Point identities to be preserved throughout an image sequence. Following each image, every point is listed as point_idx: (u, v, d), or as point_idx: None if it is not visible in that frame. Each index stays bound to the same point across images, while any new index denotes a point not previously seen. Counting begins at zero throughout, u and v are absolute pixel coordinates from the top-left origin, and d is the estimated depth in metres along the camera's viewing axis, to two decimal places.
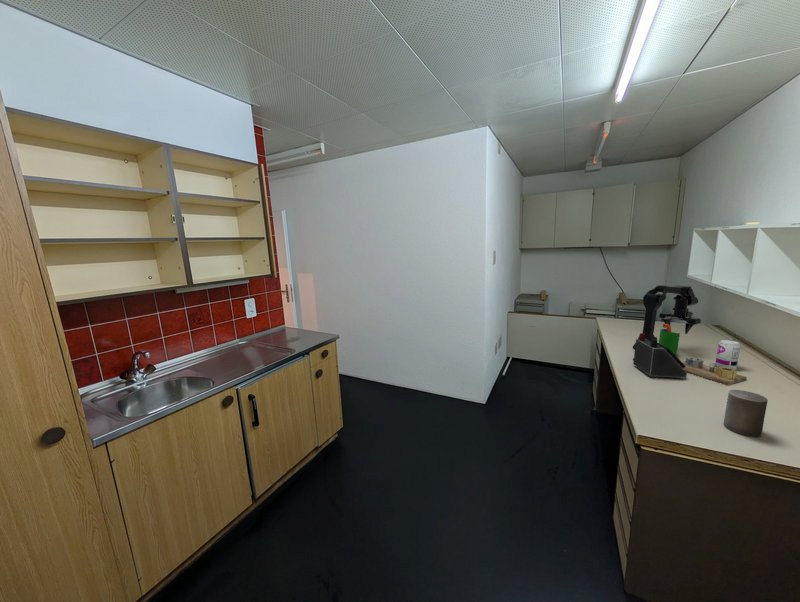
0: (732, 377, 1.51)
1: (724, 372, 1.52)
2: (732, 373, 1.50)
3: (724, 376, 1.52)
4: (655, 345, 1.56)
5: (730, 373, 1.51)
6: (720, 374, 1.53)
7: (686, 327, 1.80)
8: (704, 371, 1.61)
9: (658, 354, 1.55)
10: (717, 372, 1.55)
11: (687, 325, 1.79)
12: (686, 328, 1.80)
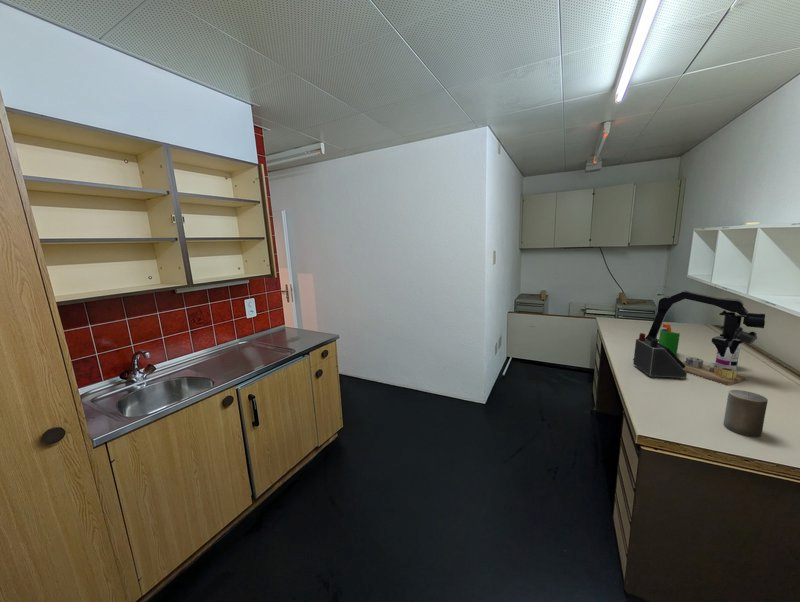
0: (732, 377, 1.51)
1: (724, 372, 1.52)
2: (732, 373, 1.50)
3: (724, 376, 1.52)
4: (655, 345, 1.56)
5: (730, 373, 1.51)
6: (720, 374, 1.53)
7: None
8: (704, 371, 1.61)
9: (658, 354, 1.55)
10: (717, 372, 1.55)
11: None
12: None
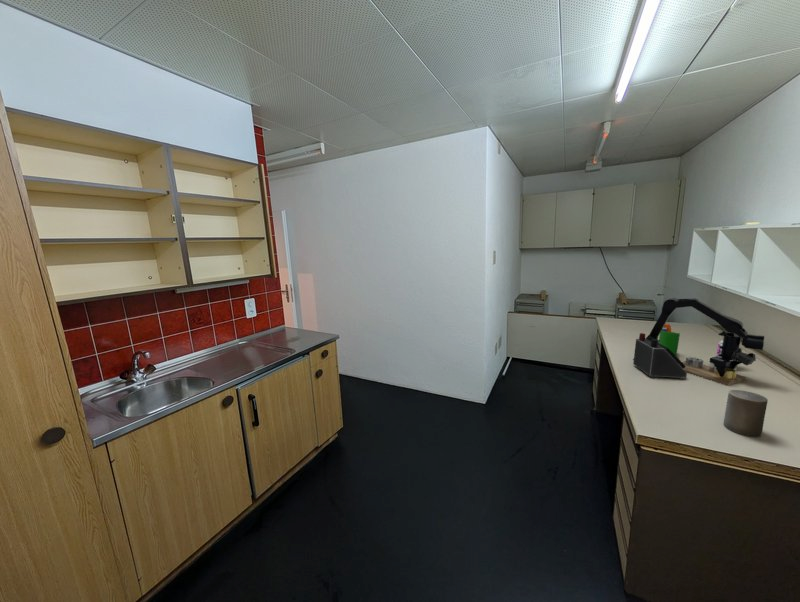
0: (732, 377, 1.51)
1: None
2: (732, 373, 1.50)
3: (724, 376, 1.52)
4: (655, 345, 1.56)
5: (730, 373, 1.51)
6: None
7: None
8: (704, 371, 1.61)
9: (658, 354, 1.55)
10: (717, 372, 1.55)
11: None
12: None
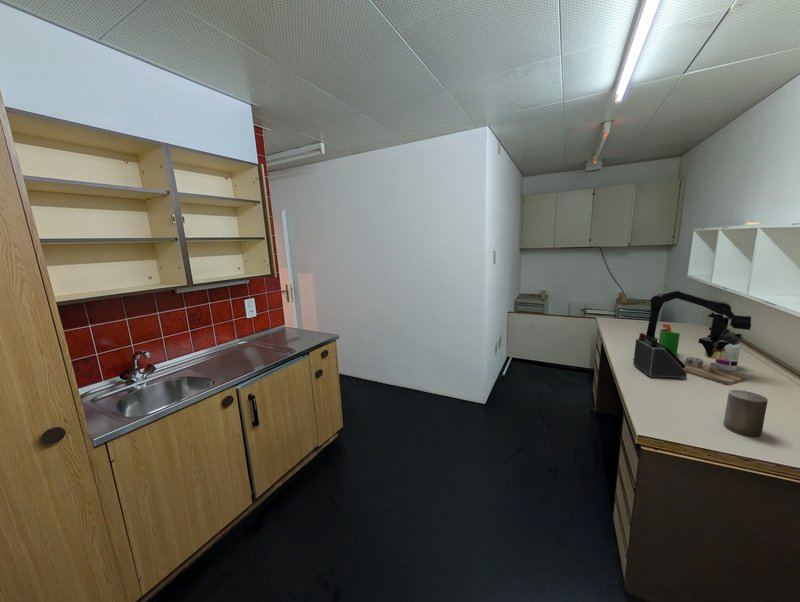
0: (720, 357, 1.56)
1: None
2: (720, 353, 1.55)
3: (712, 356, 1.57)
4: (655, 345, 1.56)
5: (718, 353, 1.56)
6: None
7: None
8: (704, 371, 1.61)
9: (658, 354, 1.55)
10: (706, 353, 1.60)
11: None
12: None
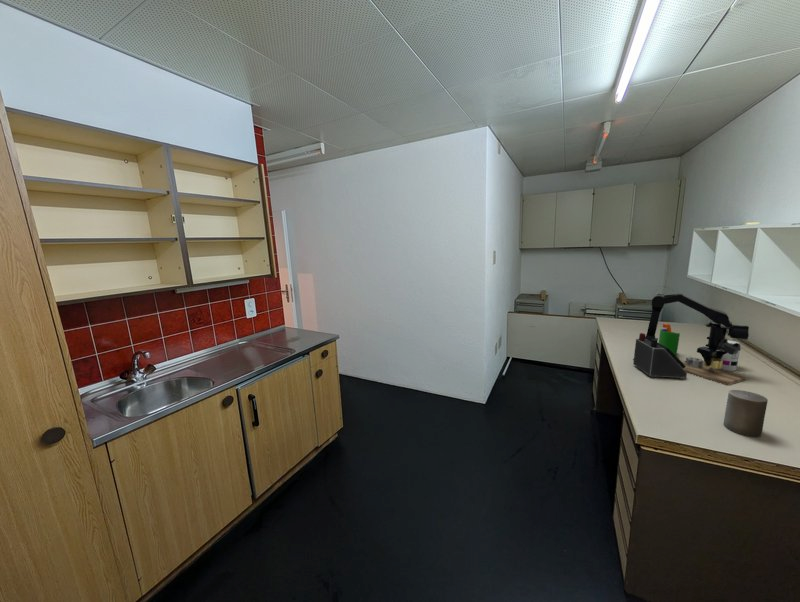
0: (718, 366, 1.57)
1: (711, 362, 1.58)
2: (718, 362, 1.56)
3: (711, 365, 1.58)
4: (655, 345, 1.56)
5: (716, 362, 1.57)
6: None
7: None
8: (704, 371, 1.61)
9: (658, 354, 1.55)
10: (704, 362, 1.61)
11: None
12: None
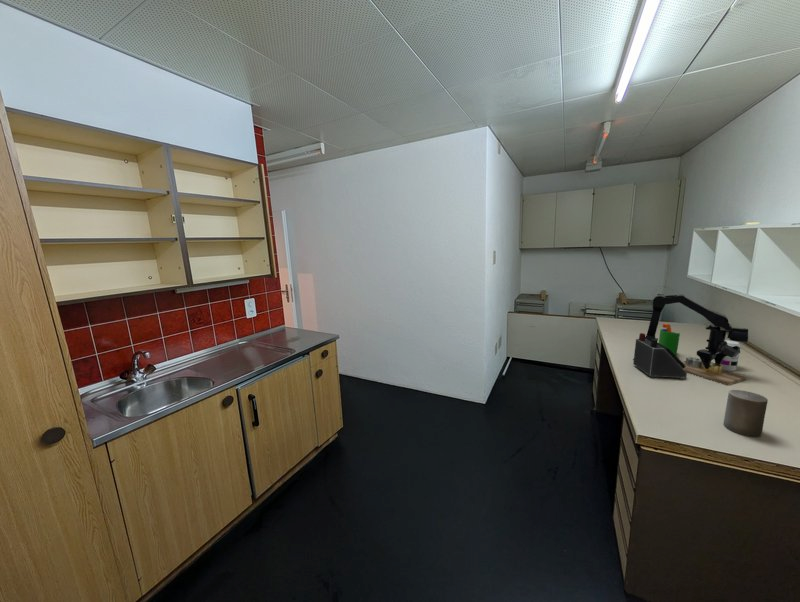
0: (717, 371, 1.57)
1: (710, 367, 1.58)
2: (717, 368, 1.57)
3: (710, 371, 1.59)
4: (655, 345, 1.56)
5: (716, 368, 1.57)
6: (706, 369, 1.60)
7: None
8: (704, 371, 1.61)
9: (658, 354, 1.55)
10: (704, 367, 1.62)
11: None
12: None
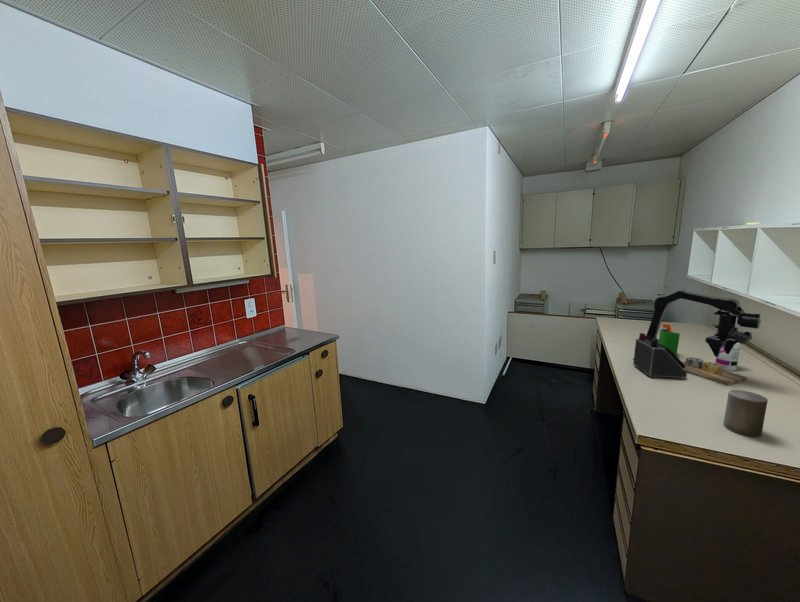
0: (717, 371, 1.57)
1: (710, 367, 1.58)
2: (717, 368, 1.57)
3: (710, 371, 1.59)
4: (655, 345, 1.56)
5: (716, 368, 1.57)
6: (706, 369, 1.60)
7: None
8: (704, 371, 1.61)
9: (658, 354, 1.55)
10: (704, 367, 1.62)
11: None
12: None
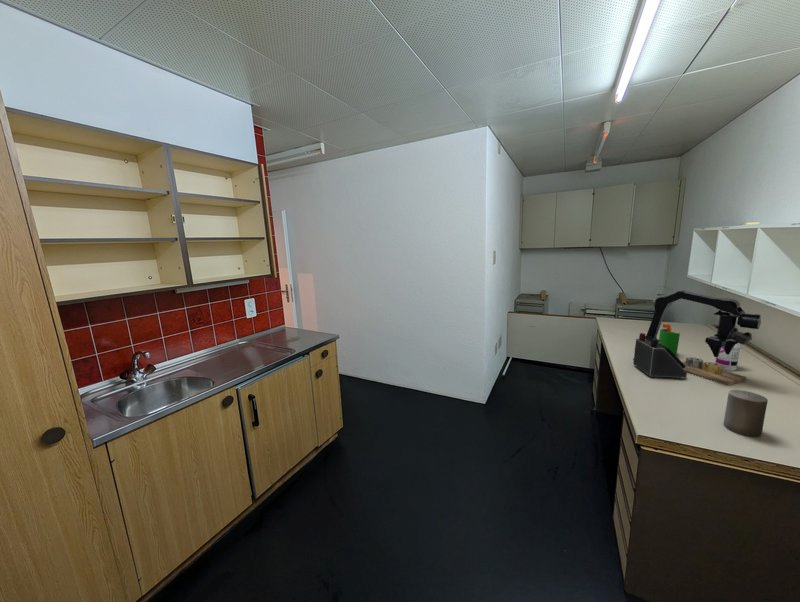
0: (717, 371, 1.57)
1: (710, 367, 1.58)
2: (717, 368, 1.57)
3: (710, 371, 1.59)
4: (655, 345, 1.56)
5: (716, 368, 1.57)
6: (706, 369, 1.60)
7: None
8: (704, 371, 1.61)
9: (658, 354, 1.55)
10: (704, 367, 1.62)
11: None
12: None
